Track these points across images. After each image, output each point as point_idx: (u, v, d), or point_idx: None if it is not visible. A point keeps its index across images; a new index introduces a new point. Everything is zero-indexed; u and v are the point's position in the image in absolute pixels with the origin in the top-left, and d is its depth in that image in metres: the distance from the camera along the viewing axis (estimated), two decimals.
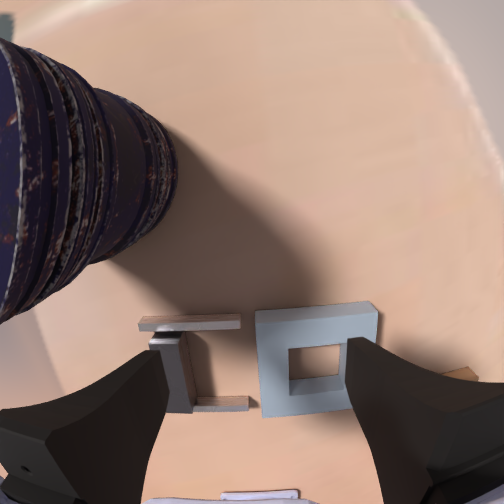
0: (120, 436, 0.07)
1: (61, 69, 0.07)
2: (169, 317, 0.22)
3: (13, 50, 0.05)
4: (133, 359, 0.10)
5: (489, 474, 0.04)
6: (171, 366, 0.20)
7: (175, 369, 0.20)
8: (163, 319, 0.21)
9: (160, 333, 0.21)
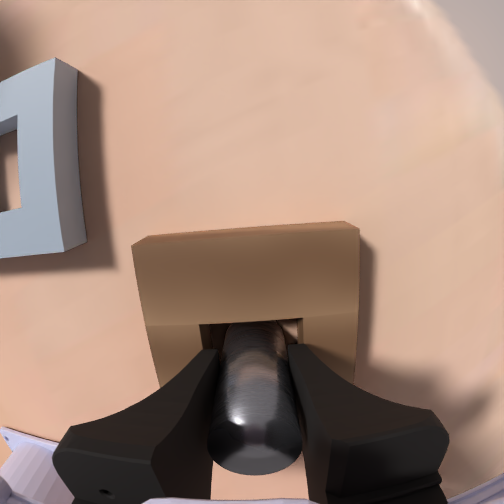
0: (196, 441, 0.07)
1: None
2: None
3: None
4: (194, 359, 0.10)
5: None
6: None
7: None
8: None
9: None
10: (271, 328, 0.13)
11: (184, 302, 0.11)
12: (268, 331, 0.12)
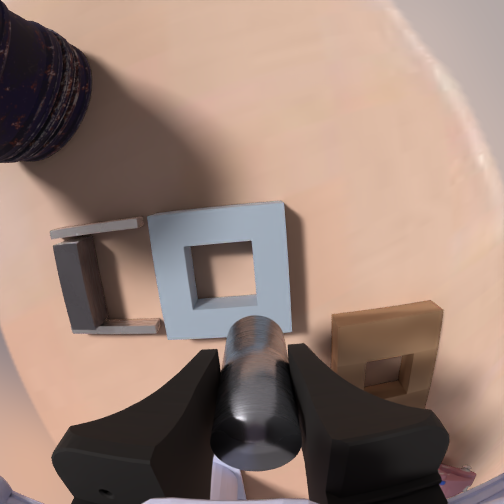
0: (196, 441, 0.07)
1: None
2: (78, 225, 0.20)
3: None
4: (194, 359, 0.10)
5: None
6: (72, 270, 0.19)
7: (75, 273, 0.19)
8: (72, 226, 0.20)
9: (68, 240, 0.20)
10: (265, 326, 0.13)
11: (361, 352, 0.20)
12: (261, 330, 0.13)
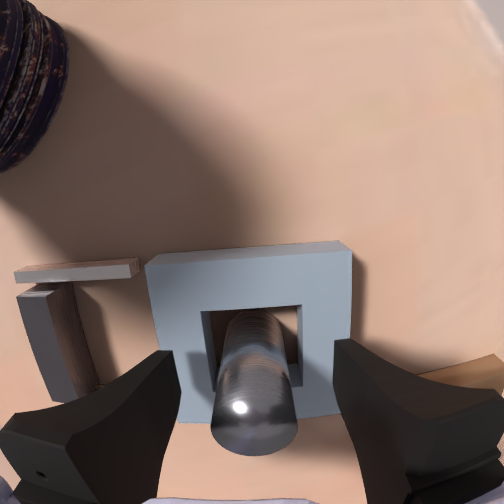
0: (136, 438, 0.07)
1: None
2: (51, 265, 0.14)
3: None
4: (146, 359, 0.10)
5: (472, 482, 0.04)
6: (43, 331, 0.12)
7: (48, 336, 0.13)
8: (43, 267, 0.14)
9: (38, 286, 0.14)
10: (263, 319, 0.14)
11: None
12: (259, 322, 0.13)
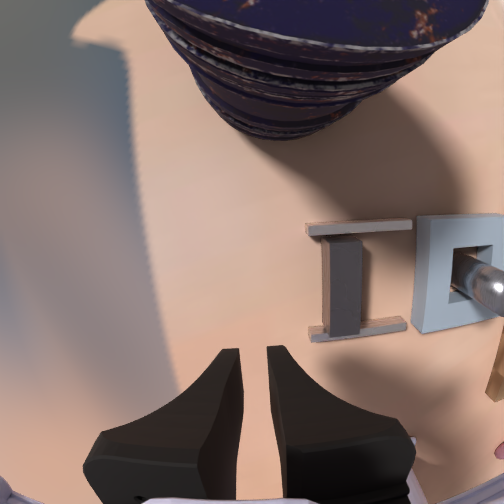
0: (226, 441, 0.07)
1: None
2: (337, 221, 0.20)
3: None
4: (218, 359, 0.10)
5: None
6: (350, 271, 0.19)
7: (354, 275, 0.19)
8: (333, 222, 0.20)
9: (331, 238, 0.20)
10: (469, 256, 0.20)
11: None
12: (471, 257, 0.19)
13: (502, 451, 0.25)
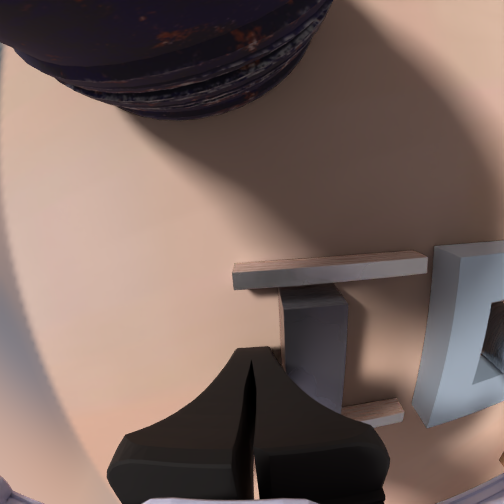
0: (246, 441, 0.07)
1: None
2: (292, 261, 0.12)
3: None
4: (234, 358, 0.10)
5: None
6: (324, 355, 0.10)
7: (331, 361, 0.10)
8: (283, 264, 0.11)
9: (292, 291, 0.11)
10: None
11: None
12: None
13: None
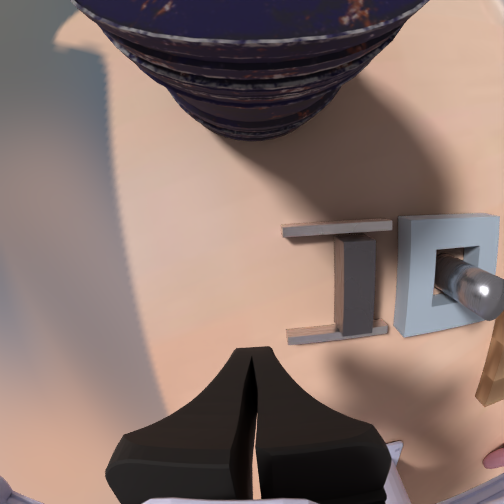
0: (245, 441, 0.07)
1: None
2: (314, 222, 0.20)
3: None
4: (233, 358, 0.10)
5: None
6: (364, 270, 0.18)
7: (367, 273, 0.18)
8: (309, 223, 0.20)
9: (344, 237, 0.19)
10: (455, 257, 0.20)
11: None
12: (456, 258, 0.19)
13: (490, 461, 0.25)
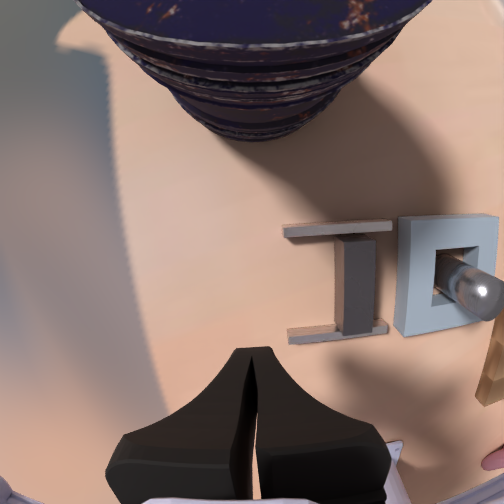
0: (245, 441, 0.07)
1: None
2: (314, 223, 0.20)
3: None
4: (233, 358, 0.10)
5: None
6: (364, 270, 0.19)
7: (367, 273, 0.19)
8: (310, 224, 0.20)
9: (344, 237, 0.20)
10: None
11: None
12: (456, 258, 0.19)
13: (489, 463, 0.25)
